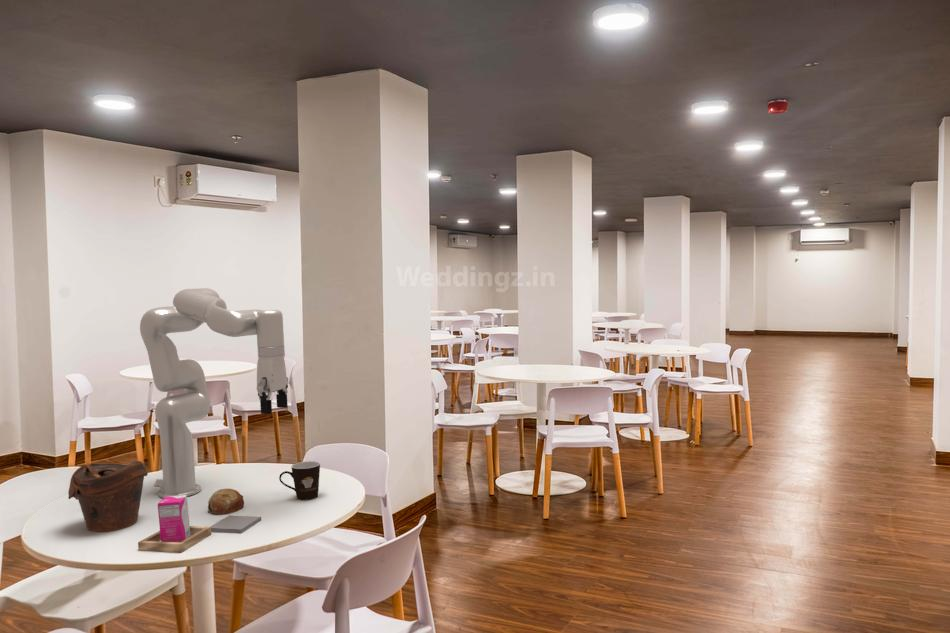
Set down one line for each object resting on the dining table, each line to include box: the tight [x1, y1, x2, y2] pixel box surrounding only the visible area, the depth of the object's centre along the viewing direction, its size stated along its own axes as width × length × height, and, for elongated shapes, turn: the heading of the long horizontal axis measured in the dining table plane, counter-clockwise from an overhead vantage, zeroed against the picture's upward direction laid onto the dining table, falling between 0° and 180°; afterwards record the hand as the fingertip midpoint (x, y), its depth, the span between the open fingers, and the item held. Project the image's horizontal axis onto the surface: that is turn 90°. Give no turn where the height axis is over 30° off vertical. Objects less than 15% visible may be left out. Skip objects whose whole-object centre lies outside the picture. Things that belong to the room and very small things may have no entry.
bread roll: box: [207, 488, 245, 516], centre depth 205 cm, size 10×10×8 cm
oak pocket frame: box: [137, 525, 212, 553], centre depth 180 cm, size 12×12×2 cm
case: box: [68, 460, 149, 532], centre depth 195 cm, size 18×20×18 cm
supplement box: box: [157, 495, 192, 543], centre depth 180 cm, size 6×6×12 cm
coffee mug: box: [278, 460, 321, 501], centre depth 214 cm, size 12×9×10 cm
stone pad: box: [209, 515, 262, 534], centre depth 190 cm, size 10×10×1 cm
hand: (274, 410), depth 204 cm, fingers open, 9 cm apart
